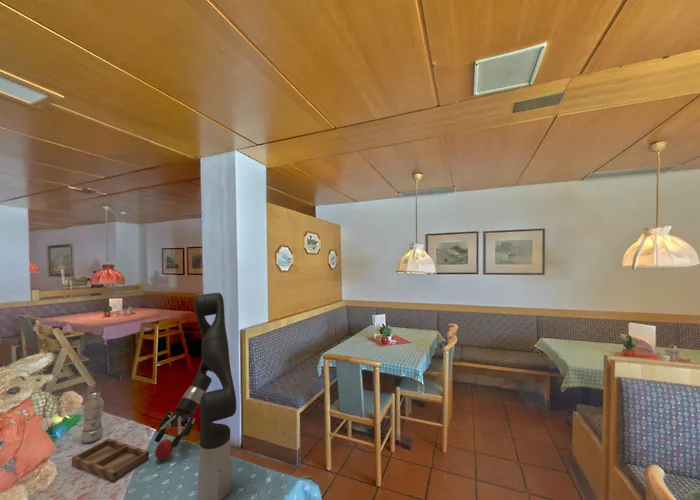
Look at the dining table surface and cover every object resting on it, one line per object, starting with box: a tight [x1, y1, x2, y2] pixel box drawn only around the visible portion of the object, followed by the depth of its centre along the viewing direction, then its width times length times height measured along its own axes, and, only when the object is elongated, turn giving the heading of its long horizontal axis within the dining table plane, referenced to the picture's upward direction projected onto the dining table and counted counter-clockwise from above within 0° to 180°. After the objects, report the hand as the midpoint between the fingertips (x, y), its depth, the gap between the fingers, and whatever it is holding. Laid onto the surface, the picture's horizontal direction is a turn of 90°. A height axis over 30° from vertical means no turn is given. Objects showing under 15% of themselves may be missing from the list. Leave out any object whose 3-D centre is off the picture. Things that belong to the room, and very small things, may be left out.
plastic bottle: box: [80, 389, 105, 444], centre depth 118 cm, size 6×7×20 cm
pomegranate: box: [154, 437, 174, 461], centre depth 108 cm, size 6×6×8 cm
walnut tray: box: [71, 438, 150, 483], centre depth 105 cm, size 23×12×3 cm, turn 71°
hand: (164, 444), depth 108 cm, fingers open, 8 cm apart
